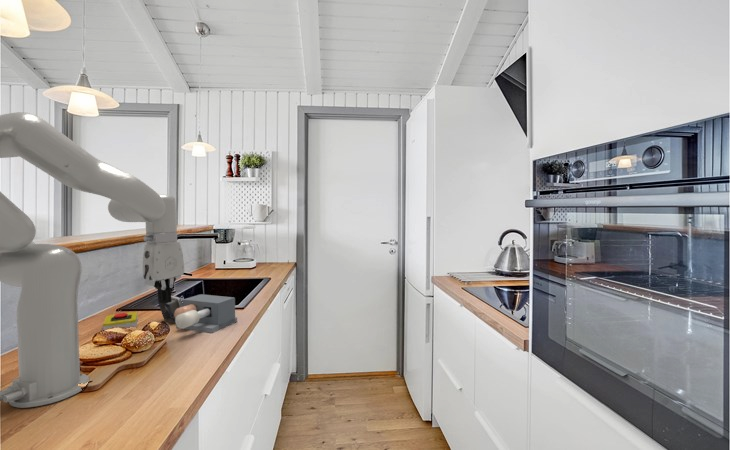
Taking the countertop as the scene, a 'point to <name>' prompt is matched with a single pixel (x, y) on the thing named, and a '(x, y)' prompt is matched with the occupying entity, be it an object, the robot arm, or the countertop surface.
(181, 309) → the knob terracotta
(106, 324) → the emergency button
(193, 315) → the knob cream
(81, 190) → the robot arm
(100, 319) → the countertop surface
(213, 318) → the block
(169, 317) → the electrical switch
